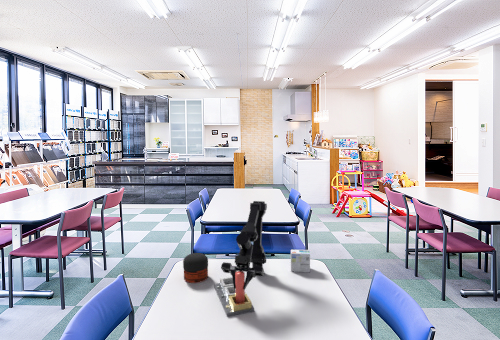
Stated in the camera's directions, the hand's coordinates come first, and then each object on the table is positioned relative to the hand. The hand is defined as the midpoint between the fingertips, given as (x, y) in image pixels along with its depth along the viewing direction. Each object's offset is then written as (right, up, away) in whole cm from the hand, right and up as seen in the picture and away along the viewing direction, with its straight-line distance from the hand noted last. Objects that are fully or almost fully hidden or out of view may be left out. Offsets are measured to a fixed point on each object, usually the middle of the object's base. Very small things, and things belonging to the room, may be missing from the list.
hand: (239, 288), depth 133 cm
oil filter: (-24, -6, +32) cm, 41 cm away
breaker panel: (-3, -8, +11) cm, 14 cm away
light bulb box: (+33, -5, +41) cm, 53 cm away
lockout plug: (0, -6, +2) cm, 7 cm away
